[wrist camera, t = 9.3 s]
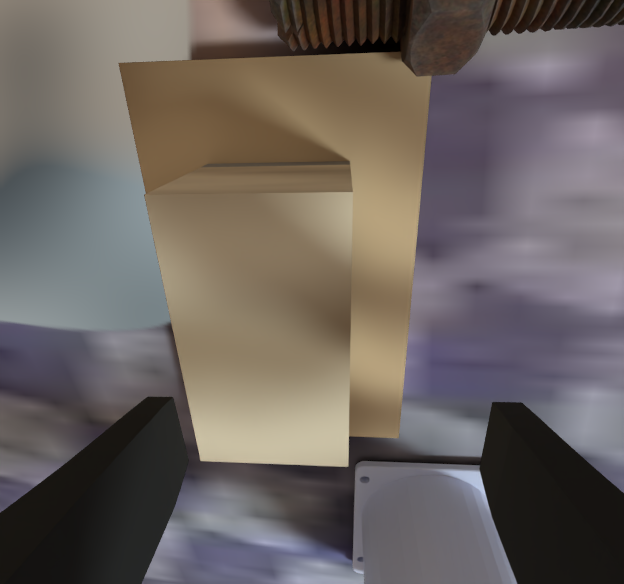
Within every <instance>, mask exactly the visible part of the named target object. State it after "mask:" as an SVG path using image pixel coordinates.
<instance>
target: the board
mask: <svg viewBox="0 0 624 584" xmlns="http://www.w3.org/2000/svg"><path fill="white" fill-rule="evenodd" d="M119 67H120V72H121V76H122V82H123V86H124V91H125V96H126V101H127V106H128V110H129V115H130V120H131V124H132V129H133V134H134V139H135V144H136V148H137V153H138V158H139V163H140V167H141V172H142V176H143V182H144V186H145V191H146V194H147V193H149V192H151V191H153V190H155V189H157V188H159V187H161V186H163V185H165V184H167V183H169V182H172V181H174V180H176V179H178V178H180V177H182V176H184V175H186V174H188V173H190V172H192V171H194V170H196V169H198V168H200V167H202V166H204V165H206V164H223V163H275V162H326V161H350V167H351V177H352V188H353V217H352V278H351V338H350V398H349V436H353V437H382V438H399V428H400V417H401V406H402V395H403V384H404V373H405V362H406V351H407V340H408V329H409V318H410V307H411V296H412V285H413V274H414V263H415V252H416V241H417V230H418V219H419V208H420V197H421V186H422V175H423V164H424V153H425V142H426V131H427V120H428V109H429V98H430V86H431V76H420V77H417V76H416V75H415V74H414V73H413V72H412V71H411V70H410V69H409V68H408V67H407V66H406V65H405V64H404V63H403V62H402V59H401V52H381V53H356V54H331V55H306V56H281V57H256V58H231V59H207V60H182V61H157V62H132V63H119Z"/></svg>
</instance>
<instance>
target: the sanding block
mask: <svg viewBox="0 0 624 584" xmlns="http://www.w3.org/2000/svg"><path fill="white" fill-rule="evenodd" d="M144 196H145V201H146V205H147V210H148V215H149V220H150V224H151V229H152V234H153V239H154V243H155V248H156V253H157V257H158V262H159V267H160V271H161V276H162V281H163V286H164V290H165V295H166V300H167V304H168V309H169V314H170V319H171V323H172V328H173V333H174V338H175V342H176V347H177V352H178V356H179V361H180V366H181V371H182V375H183V380H184V385H185V389H186V394H187V399H188V404H189V408H190V413H191V418H192V422H193V427H194V432H195V437H196V441H197V446H198V451H199V455H200V460H201V461H212V462H237V463H262V464H287V465H313V466H338V467H348V458H349V398H350V338H351V278H352V217H353V188H352V177H351V167H350V161H326V162H275V163H223V164H206V165H204V166H202V167H200V168H198V169H196V170H194V171H192V172H190V173H188V174H186V175H184V176H182V177H180V178H178V179H176V180H174V181H172V182H169V183H167V184H165V185H163V186H161V187H159V188H157V189H155V190H153V191H151V192H149V193H147V194H145V195H144Z"/></svg>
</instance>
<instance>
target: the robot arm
mask: <svg viewBox="0 0 624 584" xmlns="http://www.w3.org/2000/svg"><path fill="white" fill-rule="evenodd" d="M188 461H189V459H188V455H187V451H186V447H185V443H184V439H183V435H182V431H181V427H180V423H179V419H178V415H177V411H176V407H175V403H174V399H173V397H147V398H146V399H144V400H143V401H142V402H141V403H139V404H138V405H137V406H135V407H134V408H133V409H132V410H130V411H129V412H128V413H127V414H126V415H124V416H123V417H122V418H121V419H119V420H118V421H117V422H116V423H115V424H113V425H112V426H111V427H110V428H109V429H107V430H106V431H105V432H104V433H103V434H101V435H100V436H99V437H98V438H96V439H95V440H94V441H93V442H91V443H90V444H89V445H88V446H87V447H85V448H84V449H83V450H82V451H80V452H79V453H78V454H77V455H75V456H74V457H73V458H72V459H71V460H69V461H68V462H67V463H66V464H64V465H63V466H62V467H61V468H59V469H58V470H57V471H55V472H54V473H53V474H51V475H50V476H49V477H47V478H46V479H45V480H43V481H42V482H41V483H39V484H38V485H37V486H35V487H34V488H33V489H32V490H30V491H29V492H28V493H26V494H25V495H24V496H22V497H21V498H20V499H18V500H17V501H16V502H14V503H13V504H12V505H10V506H9V507H8V508H6V509H5V510H4V511H2V512H1V513H0V584H141V583H142V581H143V579H144V577H145V574H146V572H147V570H148V567H149V565H150V563H151V561H152V558H153V556H154V554H155V551H156V549H157V547H158V544H159V542H160V540H161V538H162V535H163V533H164V530H165V528H166V526H167V523H168V521H169V519H170V516H171V514H172V512H173V509H174V507H175V504H176V501H177V498H178V495H179V492H180V489H181V485H182V482H183V479H184V475H185V472H186V468H187V465H188ZM364 476H365V477H364ZM353 570H354V571H355V572H357V573H361V574H364V584H624V493H623V492H622V491H620V490H619V489H618V488H617V487H616V486H615V485H613V484H612V483H611V482H610V481H609V480H608V479H606V478H605V477H604V476H603V475H602V474H601V473H600V472H598V471H597V470H596V469H595V468H594V467H593V466H592V465H590V464H589V463H588V462H587V461H586V460H585V459H584V458H583V457H581V456H580V455H579V454H578V453H577V452H576V451H575V450H574V449H573V448H571V447H570V446H569V445H568V444H567V443H566V442H565V441H564V440H563V439H562V438H560V437H559V436H558V435H557V434H556V433H555V432H554V431H553V430H552V429H551V428H549V427H548V426H547V425H546V424H545V423H544V422H543V421H542V420H541V419H540V418H539V417H537V416H536V415H535V414H534V413H533V412H532V411H531V410H530V409H528V408H527V407H526V406H525V405H524V404H523V403H516V402H492V407H491V412H490V417H489V422H488V427H487V433H486V438H485V443H484V448H483V453H482V458H481V463H480V465H457V464H431V463H405V462H378V461H361V462H359V463H357V464H356V466H355V493H354V530H353Z"/></svg>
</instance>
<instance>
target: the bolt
mask: <svg viewBox="0 0 624 584" xmlns="http://www.w3.org/2000/svg"><path fill="white" fill-rule="evenodd" d="M270 6H271V12H272V14H273V15H274V17H275V18H276V20H277V27H278V36H279V37H280V38H281V39H282V40H283V41H284V42H285V43H286V44H287V45H288V46H289V47H290V48H291V50H292V51H295V50H296V48H297V47H298V45H300V46H301V47H302V49H303V50H306V49H307V47H308V46H309V44H311V45H312V47H313V48H314V49H316V48H317V47H318V45H319V44H320V43H321V42H322V43H323V45H324V46H325V48H326V49H327V47H328V46H329V45H330V44H331V42H332V41H333V42H334V43H335V45H336V46H337V47H339V46H340V44H341V43H342V42H343V41H344V40H345V41H346V43H347V44H348V46H350V45H351V44H352V43H353V42H354V40H355V39H357V41H358V42H359V44H360V45H362V44H363V43H364V42H365V40H366V39H367V38H368V39H369V40H370V41H371V43H372V44H373V43H374V42H375V41H376V40H377V39H378V38H379V37H380V38H381V40H382V41H383V43H384V44H385V43H386V42H387V40H388V39H389V38H390V37H391V36H392V38H393V39H394V41H395V42H396V43H397V42H398V40H399V39H400V52H401V59H402V62H403V63H404V64H405V65H406V66H407V67H408V68H409V69H410V70H411V71H412V72H413V73H414V74H415V75H416V76H417V77H420V76H434V75H449V74H456V73H457V72H458V71H459V70H460V69H461V68H462V67H463V66H464V65H465V64H466V63H467V62H468V61H469V60H470V59H471V58H472V57H473V56H474V55H475V54H476V53H477V51H478V49H479V47H480V45H481V43H482V41H483V38H484V36H485V34H486V33H487V31H488V30H489V31H490V33H491V34H492V35H496V34H498V33H499V32H500V30H502V32H503V33H504V34H505V35H506V34H509V33H511V32H512V31H513V29H514V30H515V31H516V32H517V33H518V34H519V33H522V32H524V31H525V30H526V29H527V30H528V31H529V32H532V33H533V32H535V31H537V30H538V29H542V30H543V31H549V30H551V29H552V28H554V29H555V30H558V29H564V28H565V27H566V28H567V29H571V28H578V27H580V28H588V27H591V26H593V27H601V26H603V25H607V26H613V25H615V24H617V23H618V24H619V25H624V0H270Z"/></svg>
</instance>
